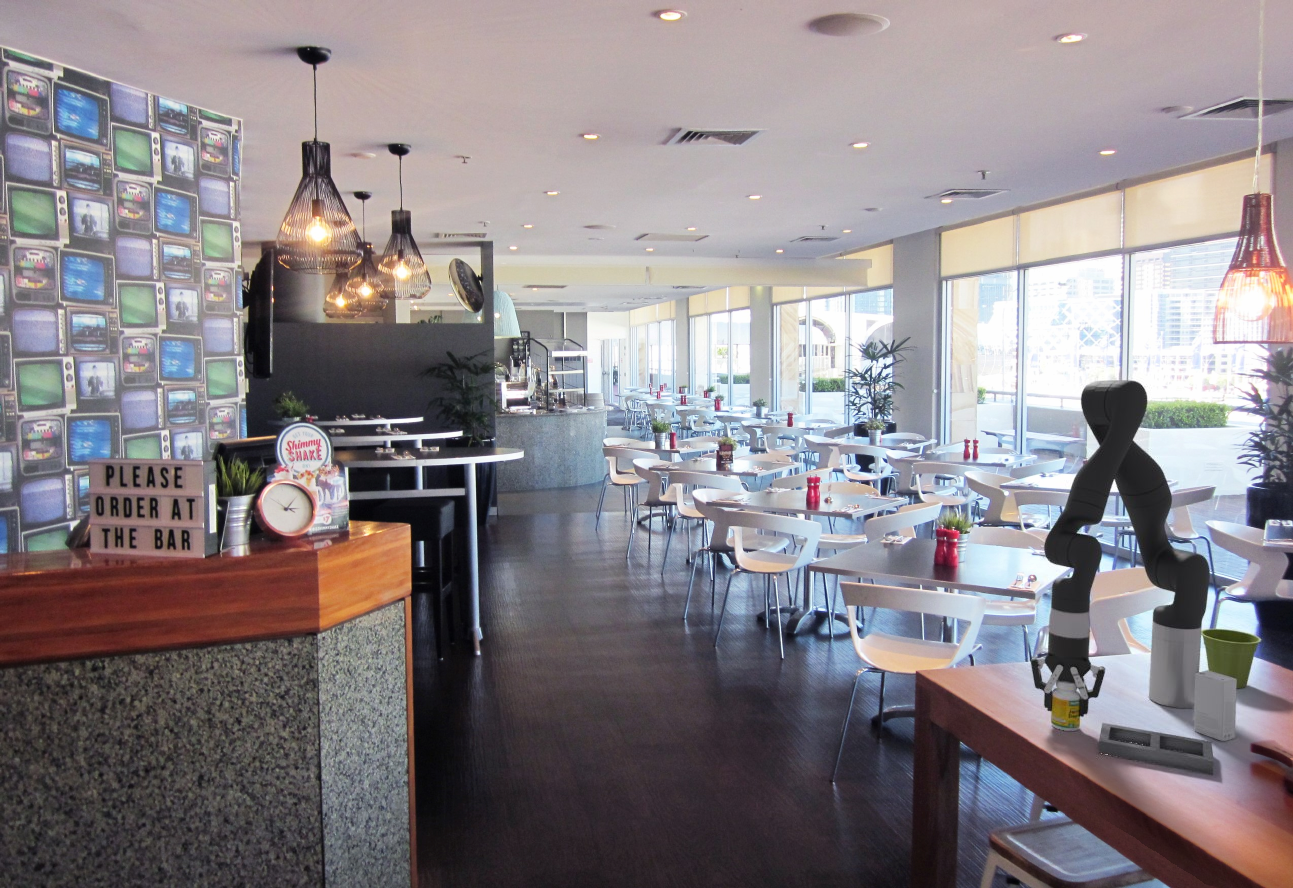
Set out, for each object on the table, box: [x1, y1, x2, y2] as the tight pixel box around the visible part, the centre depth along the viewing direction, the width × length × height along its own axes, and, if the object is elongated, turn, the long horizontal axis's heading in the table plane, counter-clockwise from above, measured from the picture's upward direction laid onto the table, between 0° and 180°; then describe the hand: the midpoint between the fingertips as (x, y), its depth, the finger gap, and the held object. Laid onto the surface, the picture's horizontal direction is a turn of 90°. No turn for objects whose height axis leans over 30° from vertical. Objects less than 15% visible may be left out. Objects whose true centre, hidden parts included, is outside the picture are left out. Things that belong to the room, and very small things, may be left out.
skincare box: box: [1193, 669, 1237, 742], centre depth 184 cm, size 6×4×12 cm
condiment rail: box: [1097, 722, 1214, 776], centre depth 175 cm, size 10×18×2 cm, turn 61°
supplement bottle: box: [1050, 679, 1081, 732], centre depth 188 cm, size 5×5×10 cm
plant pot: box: [1201, 628, 1262, 689], centre depth 213 cm, size 12×12×11 cm
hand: (1065, 712), depth 188 cm, fingers closed on supplement bottle, 5 cm apart
